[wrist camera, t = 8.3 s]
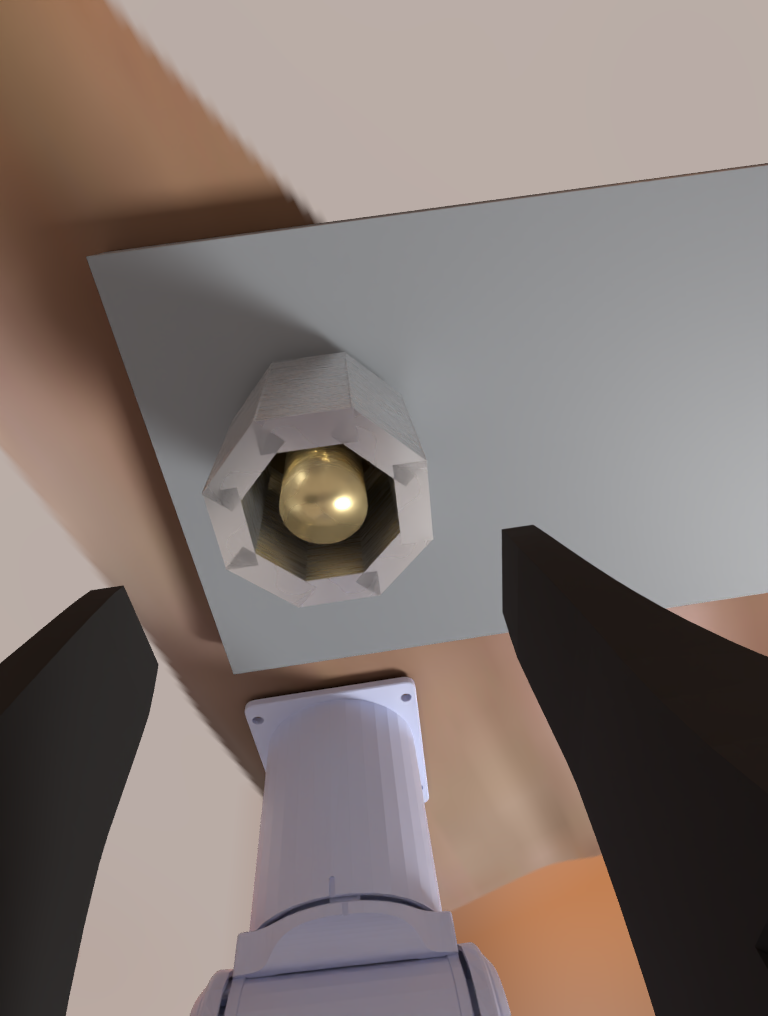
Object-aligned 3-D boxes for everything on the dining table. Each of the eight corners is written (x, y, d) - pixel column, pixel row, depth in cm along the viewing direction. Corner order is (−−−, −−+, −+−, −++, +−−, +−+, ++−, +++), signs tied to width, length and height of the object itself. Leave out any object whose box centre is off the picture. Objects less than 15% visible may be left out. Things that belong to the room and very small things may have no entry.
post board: (747, 571, 25) (871, 681, 19) (238, 648, 24) (212, 785, 19) (859, 150, 17) (1129, 126, 11) (105, 252, 16) (-12, 280, 11)
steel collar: (411, 497, 19) (437, 587, 15) (260, 519, 19) (240, 616, 14) (396, 344, 16) (422, 397, 12) (220, 368, 16) (181, 431, 12)
